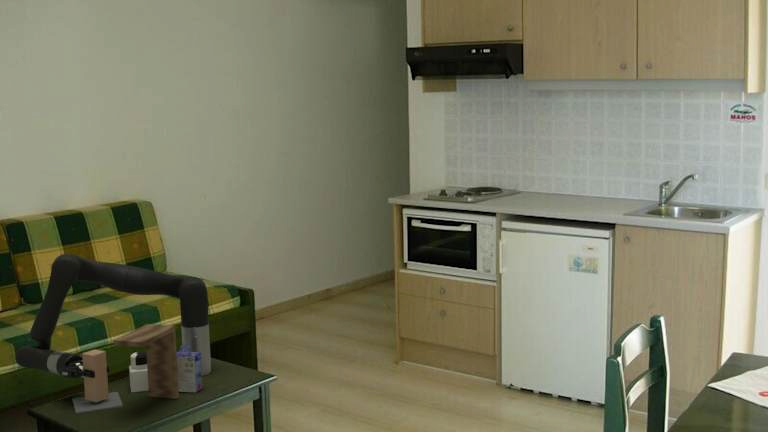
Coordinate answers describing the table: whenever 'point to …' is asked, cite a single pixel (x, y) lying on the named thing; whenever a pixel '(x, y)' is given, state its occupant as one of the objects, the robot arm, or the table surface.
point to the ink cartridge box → (189, 370)
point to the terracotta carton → (96, 375)
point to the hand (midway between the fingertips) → (101, 372)
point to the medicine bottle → (138, 372)
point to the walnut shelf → (157, 357)
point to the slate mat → (97, 404)
